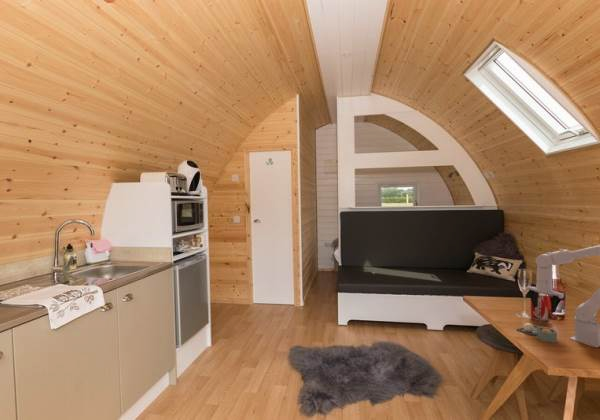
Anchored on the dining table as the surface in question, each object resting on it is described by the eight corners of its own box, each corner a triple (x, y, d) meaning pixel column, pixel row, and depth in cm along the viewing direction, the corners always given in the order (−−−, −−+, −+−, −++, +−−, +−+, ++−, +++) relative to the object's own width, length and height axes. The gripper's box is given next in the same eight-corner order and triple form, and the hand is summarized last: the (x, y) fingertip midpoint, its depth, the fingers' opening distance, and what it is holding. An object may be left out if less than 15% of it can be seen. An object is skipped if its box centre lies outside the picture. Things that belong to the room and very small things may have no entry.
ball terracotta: (552, 337, 142) (552, 328, 142) (552, 341, 139) (552, 331, 138) (540, 335, 144) (541, 326, 144) (540, 338, 141) (541, 329, 141)
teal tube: (560, 341, 140) (560, 331, 140) (550, 344, 137) (550, 334, 137) (542, 335, 146) (542, 325, 146) (533, 338, 143) (533, 328, 143)
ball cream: (536, 332, 148) (536, 323, 148) (530, 334, 146) (530, 325, 146) (526, 329, 152) (526, 320, 152) (521, 330, 150) (521, 322, 150)
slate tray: (548, 331, 150) (548, 329, 150) (532, 336, 145) (532, 334, 145) (532, 326, 156) (532, 324, 156) (516, 330, 151) (516, 328, 151)
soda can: (531, 320, 164) (532, 294, 164) (529, 315, 170) (529, 291, 170) (549, 322, 161) (549, 296, 160) (546, 318, 167) (546, 292, 167)
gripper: (567, 282, 145) (567, 313, 145) (533, 276, 158) (532, 304, 159) (558, 284, 142) (558, 315, 142) (523, 277, 155) (523, 306, 156)
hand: (544, 309), depth 150 cm, fingers open, 7 cm apart
